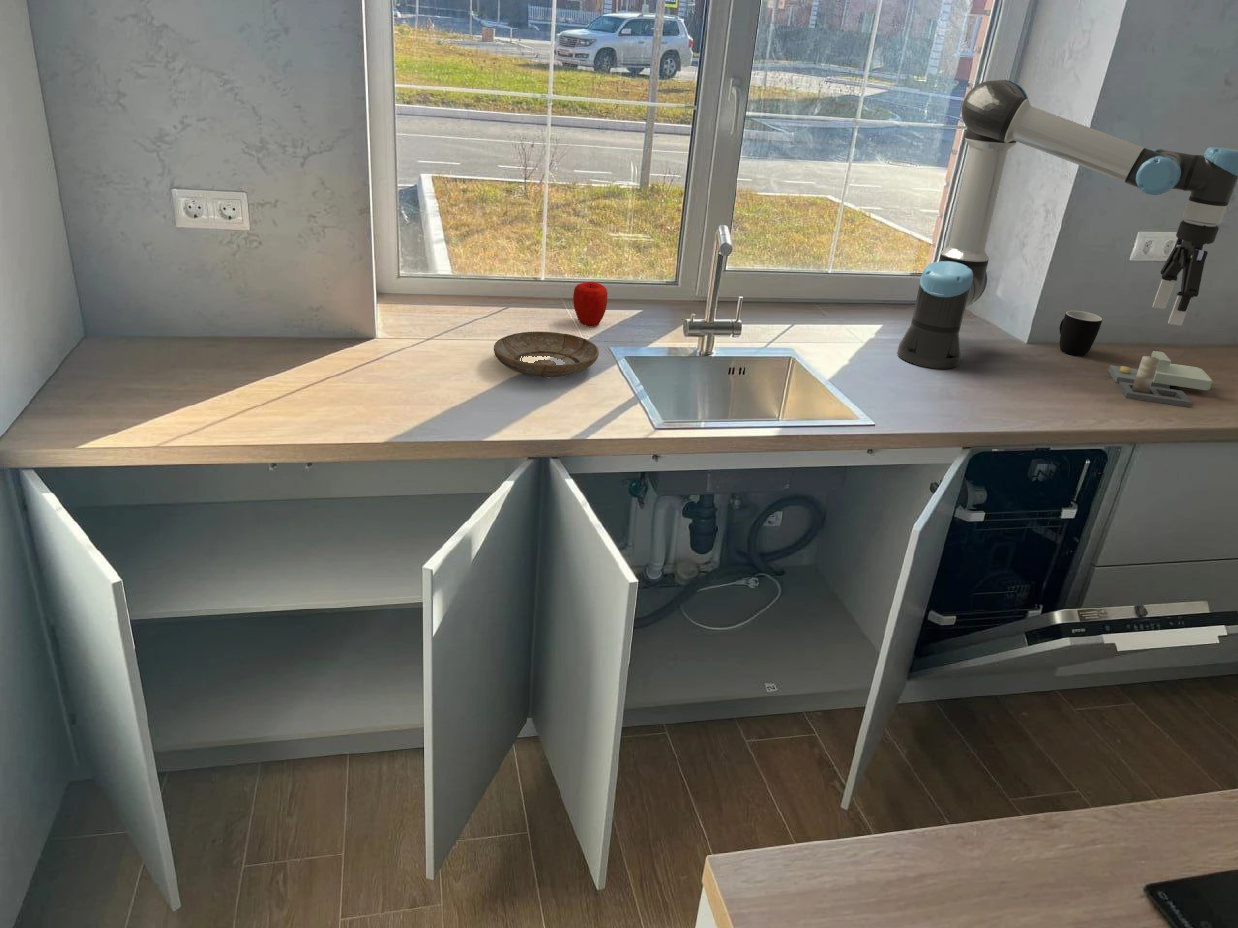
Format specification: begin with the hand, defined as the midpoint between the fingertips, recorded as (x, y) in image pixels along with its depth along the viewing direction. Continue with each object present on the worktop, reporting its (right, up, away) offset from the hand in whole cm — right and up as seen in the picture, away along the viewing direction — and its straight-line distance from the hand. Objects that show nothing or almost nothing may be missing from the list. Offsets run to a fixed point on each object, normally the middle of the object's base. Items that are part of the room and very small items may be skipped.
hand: (1166, 316), depth 210 cm
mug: (-5, -4, +36) cm, 37 cm away
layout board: (+3, -13, +18) cm, 22 cm away
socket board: (+2, -18, +8) cm, 20 cm away
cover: (+11, -13, +15) cm, 23 cm away
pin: (-1, -17, +9) cm, 19 cm away
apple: (-133, +2, +25) cm, 136 cm away
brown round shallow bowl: (-142, -12, -4) cm, 143 cm away
